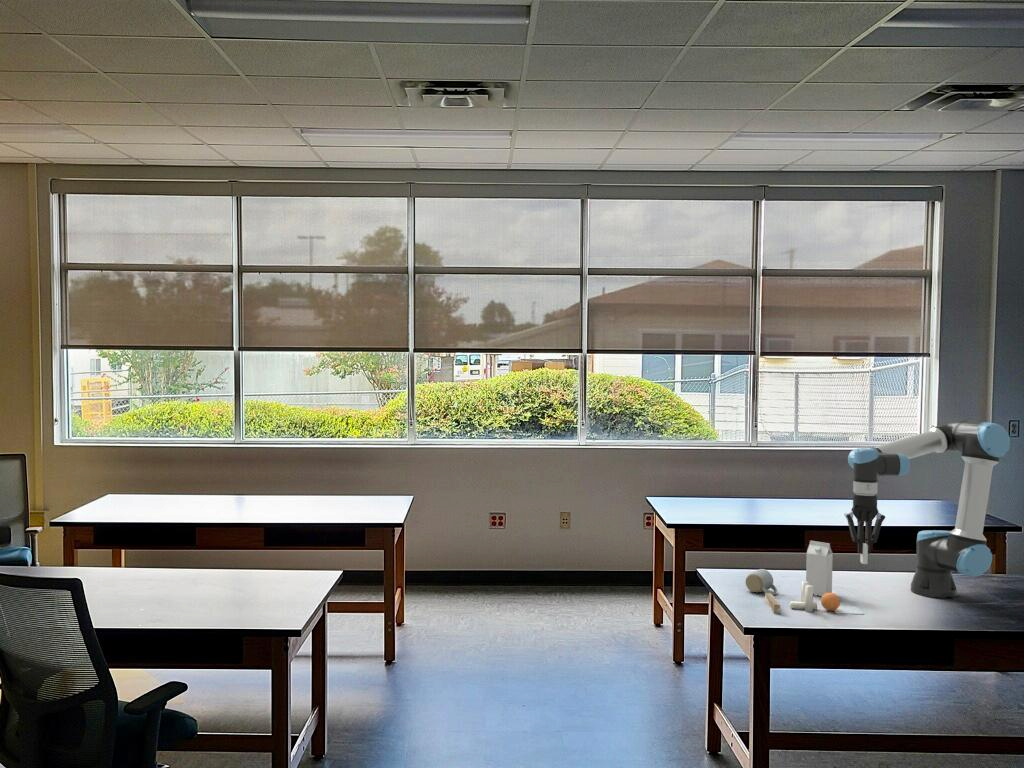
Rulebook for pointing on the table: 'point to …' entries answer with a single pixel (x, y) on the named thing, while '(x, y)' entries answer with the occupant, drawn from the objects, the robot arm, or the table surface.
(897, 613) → the table surface
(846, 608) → the white square tile
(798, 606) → the pin front
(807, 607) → the pin
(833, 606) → the ball
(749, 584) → the ceramic mug
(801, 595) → the pin
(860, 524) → the robot arm
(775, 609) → the bar
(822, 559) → the milk carton
